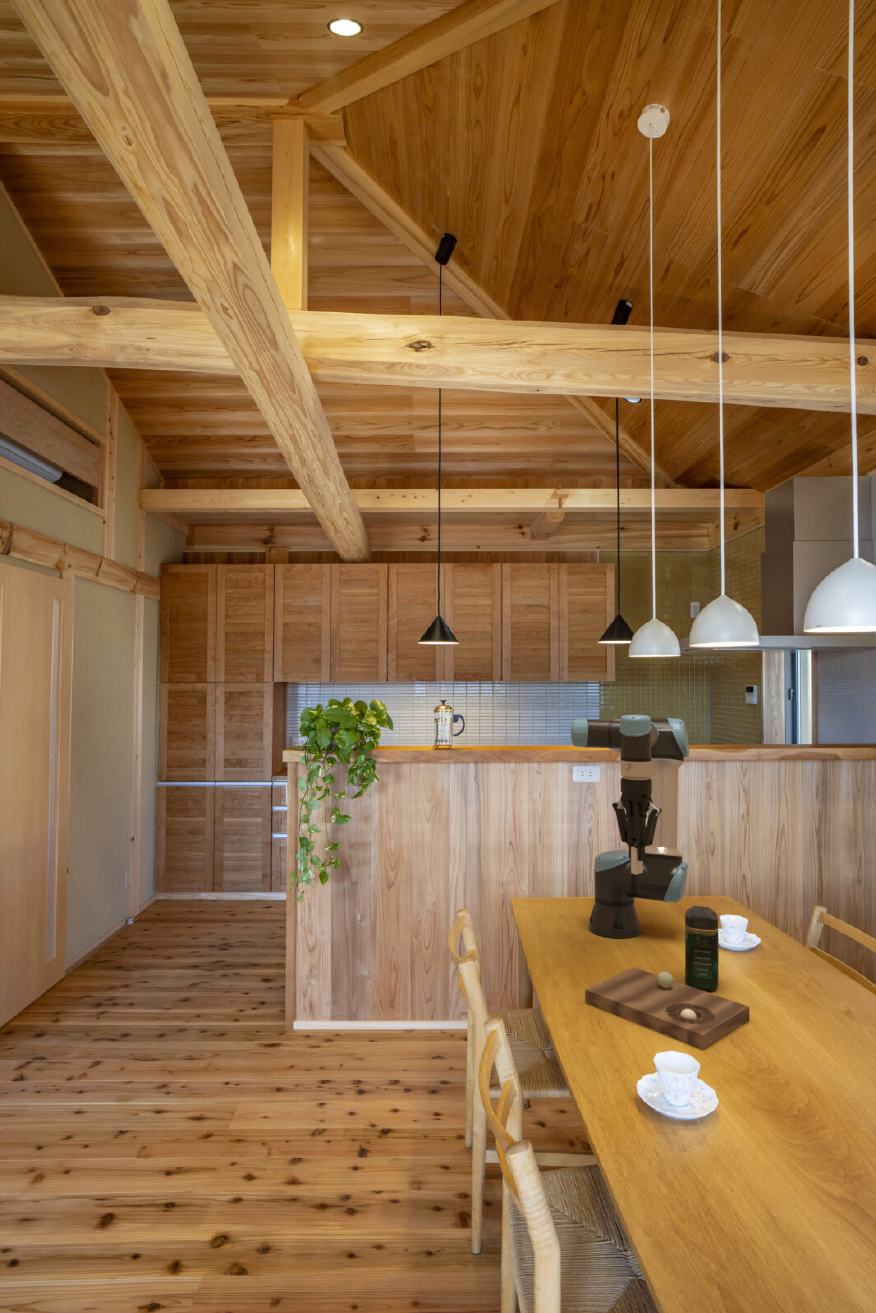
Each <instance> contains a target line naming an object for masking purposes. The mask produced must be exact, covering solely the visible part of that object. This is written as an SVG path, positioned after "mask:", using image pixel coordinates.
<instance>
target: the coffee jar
mask: <svg viewBox="0 0 876 1313" xmlns="http://www.w3.org/2000/svg"><path fill="white" fill-rule="evenodd" d="M684 918H685V919H684V938H685V939H684V955H685V956H684V959H685V960H684V961H685V962H684V965H685V966H684V973H685V975H684V979H685V983H686V984H685V985H687V986H690V987H693V988H696V989H699V990H702V991H705V992H707V991H716V990H717V989H718V987H719V954H720V953H719V950H720V949H719V947H720V945H719V942H720V940H719V918H718V914H717V913H716V911H714V910H713V909H711V907H707V906H701V905H693V906H692V907H690V908H688V909H687V910H686V912H685V915H684Z"/></svg>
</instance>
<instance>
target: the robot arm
mask: <svg viewBox="0 0 876 1313" xmlns="http://www.w3.org/2000/svg"><path fill="white" fill-rule="evenodd" d="M570 726H571V727H570V739H571V740H570V741H571V743H572V745H573V746H575V748H582V749H583V748H584V749H585V748H587V749H588V748H589V749H590V748H591V749H597V748H598V749H609V751H613V752H620V760H619V762H620V776H622V777H621V778H620V793H621V795H620V798H619V800H618V801H616V802H612V805H611V806H612V808H613V810H614V812H615V816H616V820H617V826H618V830H619V836H620V840H621V842H622V843H625V844H627V847H628V850H625V849H624V850H619V849H618V850H608V851H604V852H601V853H599V854H597V855H596V856H595V858H594V869H593V872H594V880H593V881H594V904H593V907H592V910H591V912H590V916H589V919H588V929H589V931H590V932H591V933H594V934H596V935H597V936H601V937H605V938H613V939H628V938H633V937H637V936H639V935H640V934H641V923H640V920H639V916H638V913H637V910H636V907H635V899H643V900H650V901H656V902H657V901H658V902H664V903H666V902H667V903H668V902H669V903H679V902H681V901H682V899H683V897H684V894H685V891H686V884H687V878H688V868H689V867H688V863H687V862H686V861H683V855H682V853H680V852H679V850H678V822H679V821H678V813H679V811H678V809H679V808H678V807H679V803H678V802H679V799H678V798H679V768H680V767H681V766H682V765H683V764H685V762H684V761H685V758H688V757H689V756H690V746H689V745H690V744H689V743H690V742H689V737H688V731H687V726H686V724H685V722H684V720H682V719H680V718H672V717H650V716H649V715H645V714H626V715H622V716H621V717H620V718H618V719H586V718H583V719H582V718H581V719H574V720H573V722H572V723H571V725H570Z"/></svg>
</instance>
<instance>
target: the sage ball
mask: <svg viewBox="0 0 876 1313" xmlns="http://www.w3.org/2000/svg"><path fill="white" fill-rule="evenodd" d="M657 975H658V977H657V981H658V984H659V985H660V986H661V987H663V988H669V987H671V986H672V984H673V981H674V977H673V976H672V974H670V973H669V972H668V971H661V972H660V973H658V974H657Z"/></svg>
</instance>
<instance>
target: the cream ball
mask: <svg viewBox="0 0 876 1313" xmlns="http://www.w3.org/2000/svg"><path fill="white" fill-rule="evenodd" d="M680 1015H681V1016H683V1017H685V1018H690V1019H697V1015H696V1013H695V1012H694V1011H693V1010H691V1009H684V1010H683V1011H682V1012H681V1013H680Z"/></svg>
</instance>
